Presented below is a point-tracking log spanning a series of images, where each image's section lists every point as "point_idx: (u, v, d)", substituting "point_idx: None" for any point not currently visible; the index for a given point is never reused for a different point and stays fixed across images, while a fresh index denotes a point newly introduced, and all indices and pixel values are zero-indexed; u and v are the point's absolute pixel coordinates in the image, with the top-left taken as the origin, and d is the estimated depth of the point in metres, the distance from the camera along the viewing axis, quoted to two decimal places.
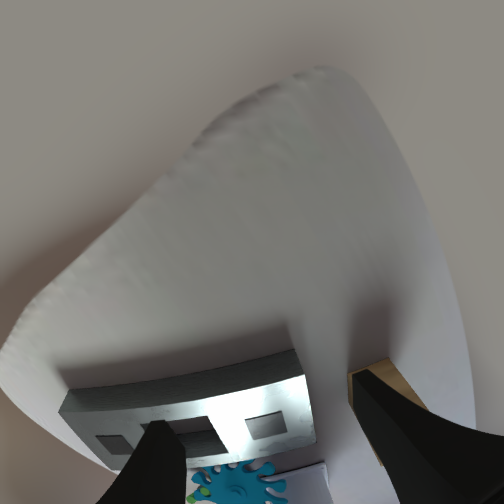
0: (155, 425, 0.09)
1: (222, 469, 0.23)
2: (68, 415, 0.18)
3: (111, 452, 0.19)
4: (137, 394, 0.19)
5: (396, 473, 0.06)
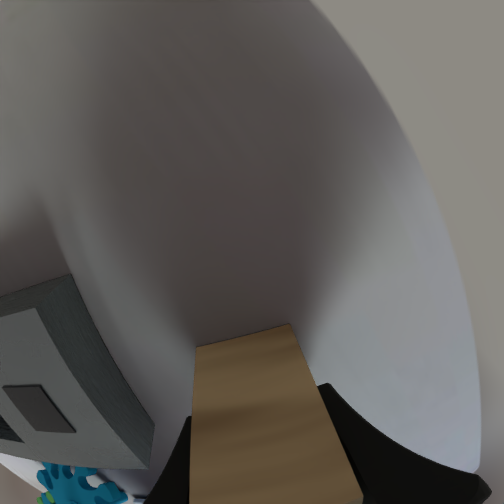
0: None
1: (60, 473, 0.12)
2: None
3: None
4: None
5: None
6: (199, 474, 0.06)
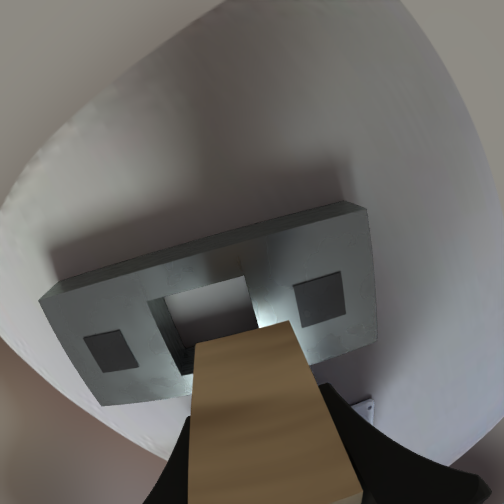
0: None
1: None
2: (51, 302, 0.15)
3: (102, 368, 0.16)
4: (147, 260, 0.16)
5: None
6: (198, 469, 0.06)
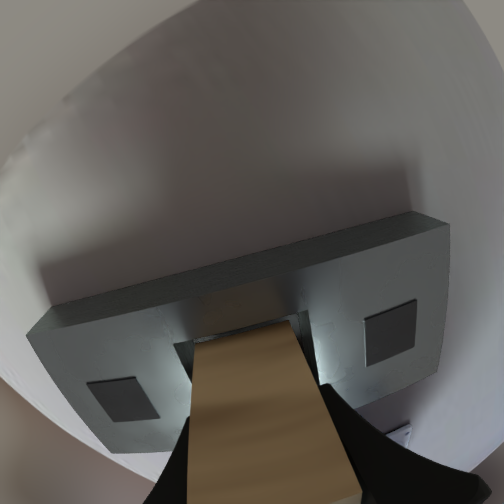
0: None
1: None
2: (42, 339, 0.10)
3: (113, 417, 0.12)
4: (172, 287, 0.12)
5: None
6: (197, 469, 0.06)
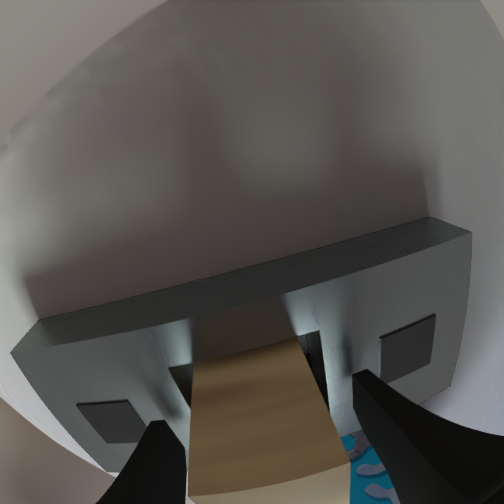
0: (155, 425, 0.09)
1: None
2: (27, 358, 0.09)
3: (106, 439, 0.11)
4: (166, 303, 0.11)
5: (396, 473, 0.06)
6: (198, 444, 0.07)
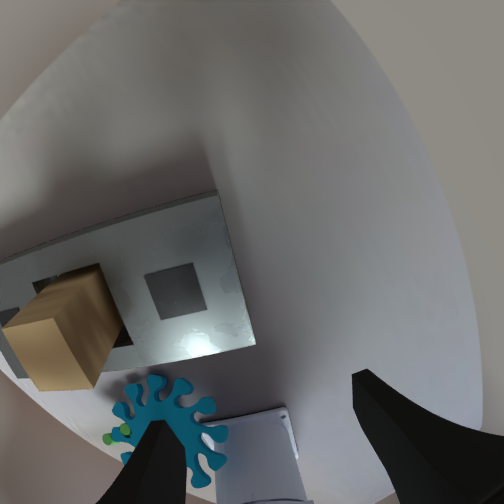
0: (155, 425, 0.09)
1: (150, 399, 0.19)
2: None
3: None
4: (38, 247, 0.15)
5: (396, 473, 0.06)
6: (20, 311, 0.12)
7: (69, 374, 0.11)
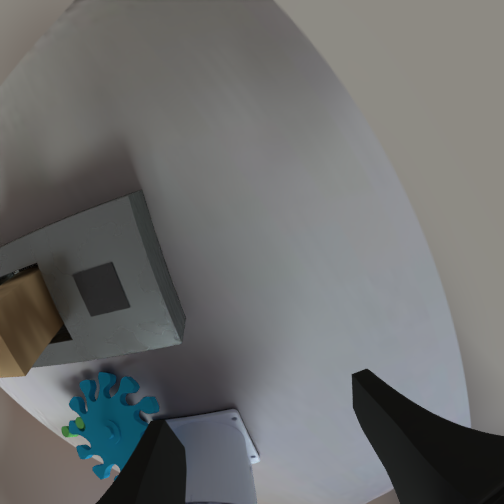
0: (155, 425, 0.09)
1: (100, 395, 0.19)
2: None
3: None
4: None
5: (396, 473, 0.06)
6: None
7: (6, 362, 0.11)
